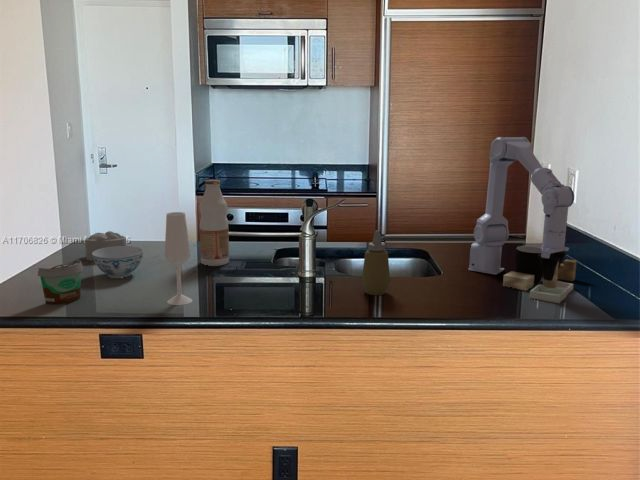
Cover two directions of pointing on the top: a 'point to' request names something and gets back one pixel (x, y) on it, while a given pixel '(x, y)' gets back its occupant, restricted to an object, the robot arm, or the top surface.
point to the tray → (548, 294)
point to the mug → (529, 261)
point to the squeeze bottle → (376, 268)
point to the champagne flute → (177, 250)
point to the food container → (62, 283)
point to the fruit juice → (214, 226)
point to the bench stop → (567, 270)
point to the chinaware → (118, 260)
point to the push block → (518, 280)
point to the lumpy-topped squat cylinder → (103, 242)
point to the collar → (565, 286)
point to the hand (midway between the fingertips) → (550, 278)
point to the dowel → (554, 281)
